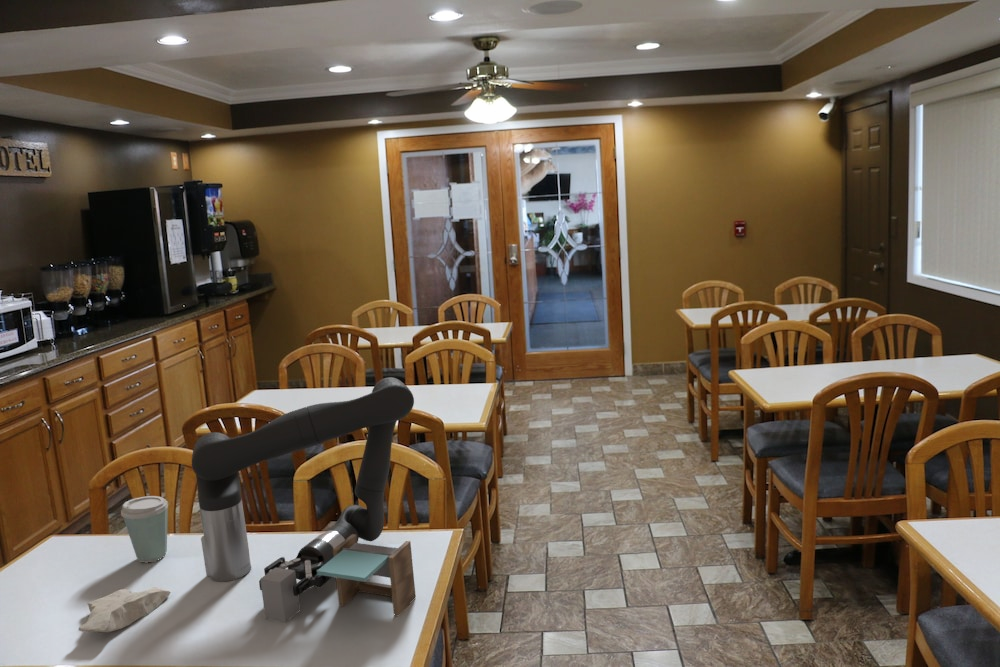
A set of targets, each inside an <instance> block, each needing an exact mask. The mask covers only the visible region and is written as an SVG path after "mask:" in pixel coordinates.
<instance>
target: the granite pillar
mask: <svg viewBox="0 0 1000 667" xmlns="http://www.w3.org/2000/svg"><path fill="white" fill-rule="evenodd" d="M271 570H272V569H271ZM259 581H260V582H261V589H262V590H261V594H262V603H263V609H264V617H265V620H269V621H274V622H275V621H276V622H280V623H284V624H285V623H287V622H288V621H289V620H290V619H291V618H293V617H294V616H295V615H296V614H297V613H299V612H300V611H301V606H300V599H299V598H300V595H299V596H294V593H293V587H294V585H296V584H297V583H298V582H297V579H296V573H295V570H289V569H288V568H286V569H282V568H274V569H273V570H272V571H270V572H269V573H267V574H266V575H265V574H264V576H262V577H260V579H259ZM299 610H300V611H299Z"/></svg>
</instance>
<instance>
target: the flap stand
mask: <svg viewBox="0 0 1000 667" xmlns="http://www.w3.org/2000/svg"><path fill="white" fill-rule="evenodd" d="M355 543H357V536H356V535H355V534H352V535H351V536H349V537H348V538H347V539H346V540H344V541H343V542H342V543H341V544H339V545H338V546H337V547H336V548H334V549H333V556H334V557H335V556H336V555H337V554H338V553H339V552H341V551H342V550H343V549H344V550H351V551H359V552H366V553H373V554H381V555H388V556H389V557H388V561H389V570H390V578H389V580H390V584H386V583H379V582H373V581H372V582H371V581H368V580H367V581H365V582H363V581H356V580H350V579H343V578H337V577H335V580H336V589H337V597H338V605H339V607H342V606H344V605H345V606H346V605H347V604H348V603H349V602H350V601H351V600H353V598H355V597H356V596H357V595H358V594H359V593H360V592H361V593H367V592H368V593H369V594H373V593H375V594H374V595H380V594H381V596H387V597H388V596H389V597H391V598H392V608H393V615H394V614H395V615H399V614H400V613H401V612H402V611H403V610H404V609H405V610H406V608H408V606H409V605H410V604H411V603H412V602H413V601H414V600H415V599H416V598H415V597H417V596H416V595H417V594H416V587H415V586H416V584H415V577H414V565H413V557H412V556H413V555H412V554H413V553H412V545H411V544H412V542H411V541H410V540H405V541H404V542H403V543H402V544H401V545H400V546H398V547H397V548H398V549H397V550H396V551H395V552H393V553H392V554H387V553H379V552H372V551H364V550H357V549H350V547H351V546H352V545H353V544H355ZM414 598H415V599H414ZM413 599H414V600H413ZM412 600H413V601H412ZM411 601H412V602H411ZM410 602H411V603H410ZM345 606H344V607H345ZM405 610H404V611H405ZM404 611H403V612H404ZM403 612H402V613H403ZM402 613H401V614H402ZM401 614H400V615H401ZM395 615H394V616H395ZM400 615H399V616H400Z"/></svg>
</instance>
